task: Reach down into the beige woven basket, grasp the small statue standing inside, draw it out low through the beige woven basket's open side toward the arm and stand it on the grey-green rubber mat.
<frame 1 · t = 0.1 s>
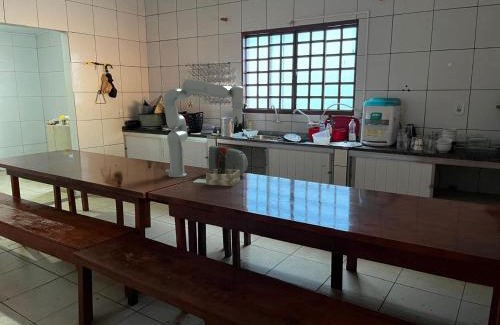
hand: (238, 132, 236), 31 cm above the table, fingers open, 9 cm apart
mat: (201, 181, 235), on the table
beige woven basket: (223, 182, 232), on the table
decorative stone tablet: (228, 174, 254), on the table
statue: (221, 182, 232), on the table
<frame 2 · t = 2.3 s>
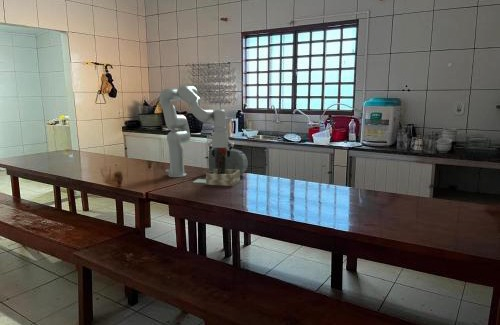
hand: (221, 156, 229), 17 cm above the table, fingers open, 9 cm apart
nothing on the table moved.
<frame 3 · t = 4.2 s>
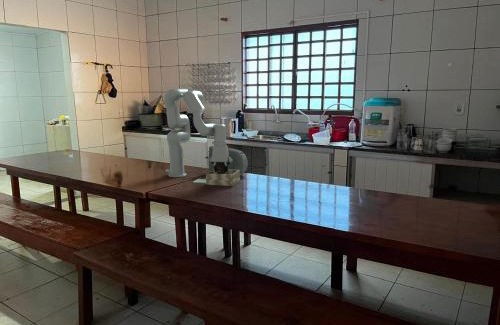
hand: (221, 171, 231), 7 cm above the table, fingers closed on statue, 6 cm apart
statue: (221, 182, 232), on the table, touching gripper
everything else where it was.
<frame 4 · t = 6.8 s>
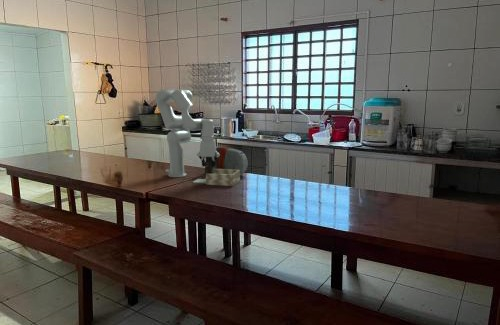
hand: (208, 166, 232), 10 cm above the table, fingers closed on statue, 6 cm apart
statue: (208, 177, 234), point 3 cm above the table, touching gripper
everything else where it was.
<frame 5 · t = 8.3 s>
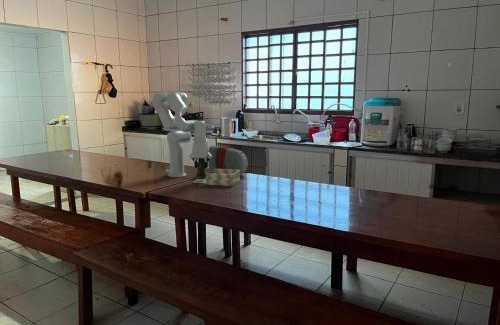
hand: (201, 167, 234), 9 cm above the table, fingers closed on statue, 6 cm apart
statue: (201, 178, 235), point 2 cm above the table, touching gripper
everything else where it was.
when the fingers open (8 cm above the table, at t = 9.2 s): statue stays where it is, resting on mat.
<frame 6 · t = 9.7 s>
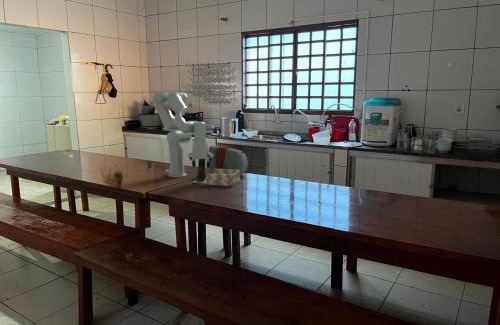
hand: (201, 167, 234), 9 cm above the table, fingers open, 9 cm apart
statue: (201, 180, 235), resting on mat
everything else where it was.
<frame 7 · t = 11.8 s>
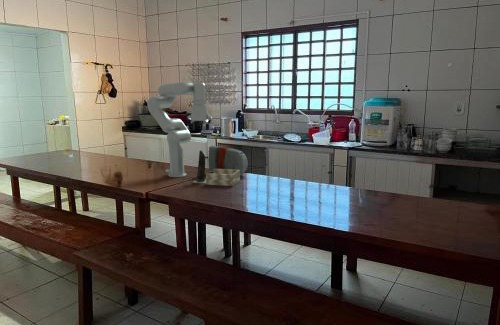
hand: (200, 129, 232), 34 cm above the table, fingers open, 9 cm apart
nothing on the table moved.
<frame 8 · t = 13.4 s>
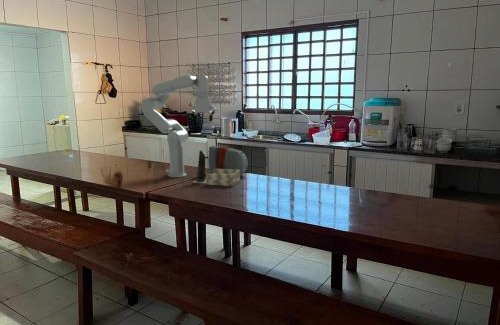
hand: (203, 121, 238), 38 cm above the table, fingers open, 9 cm apart
nothing on the table moved.
at the end: statue inside the target area on the mat (0.1 cm from its centre), point 0.2 cm above the mat's base; statue tilted 0°; the gripper is holding nothing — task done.
